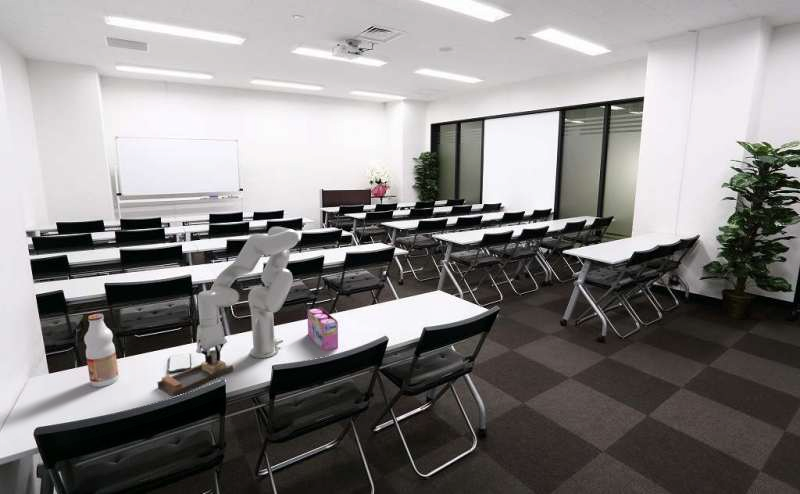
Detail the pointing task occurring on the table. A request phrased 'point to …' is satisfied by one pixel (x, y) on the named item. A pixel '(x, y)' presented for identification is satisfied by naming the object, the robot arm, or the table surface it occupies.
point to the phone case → (179, 363)
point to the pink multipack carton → (323, 328)
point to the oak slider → (213, 364)
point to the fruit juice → (100, 353)
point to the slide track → (189, 380)
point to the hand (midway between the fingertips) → (213, 361)
